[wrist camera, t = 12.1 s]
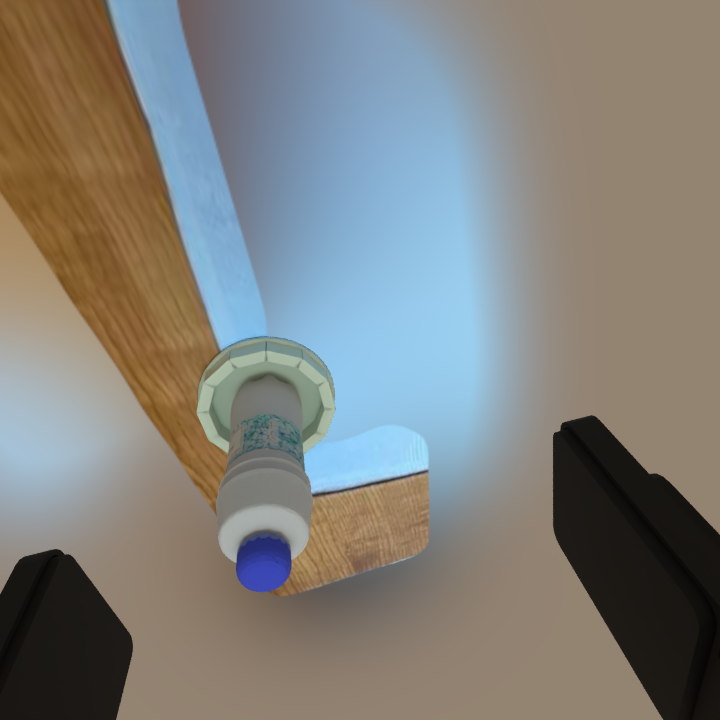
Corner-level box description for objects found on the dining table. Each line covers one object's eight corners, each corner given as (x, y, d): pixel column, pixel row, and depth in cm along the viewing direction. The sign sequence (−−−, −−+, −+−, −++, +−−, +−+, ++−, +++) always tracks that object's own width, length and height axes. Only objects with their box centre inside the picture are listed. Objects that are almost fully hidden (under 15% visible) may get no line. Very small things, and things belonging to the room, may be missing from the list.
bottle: (232, 364, 46) (207, 543, 28) (307, 369, 47) (326, 543, 30) (228, 425, 49) (203, 620, 31) (299, 428, 50) (312, 617, 33)
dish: (177, 355, 45) (173, 369, 43) (317, 322, 45) (319, 334, 43) (224, 461, 51) (222, 477, 49) (346, 431, 52) (349, 446, 50)
